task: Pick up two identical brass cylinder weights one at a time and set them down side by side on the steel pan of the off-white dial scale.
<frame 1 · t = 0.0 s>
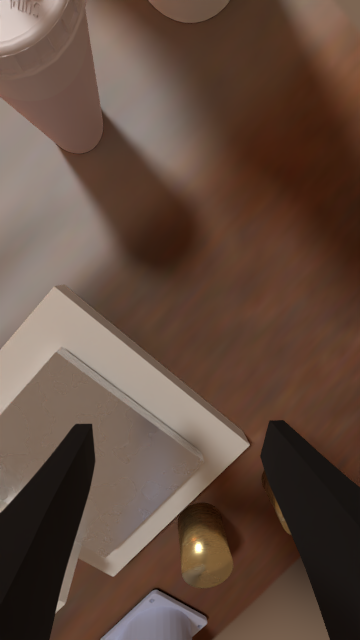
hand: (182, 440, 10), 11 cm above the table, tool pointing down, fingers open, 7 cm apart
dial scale: (93, 438, 21), on the table
smoothie: (75, 124, 16), on the table
brass weight a: (199, 520, 24), on the table
scale pan: (85, 461, 19), point 3 cm above the table, slide at -0.4 cm
brass weight b: (282, 476, 24), on the table
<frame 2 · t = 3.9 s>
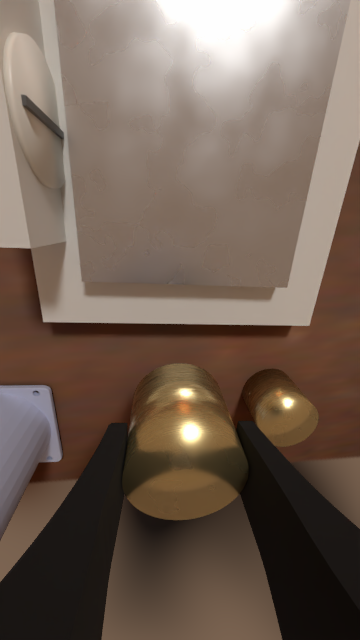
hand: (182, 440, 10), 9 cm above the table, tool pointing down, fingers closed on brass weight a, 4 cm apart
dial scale: (190, 156, 14), on the table
brass weight a: (177, 401, 12), point 7 cm above the table, touching gripper
scale pan: (197, 142, 12), point 3 cm above the table, slide at -0.4 cm
brass weight b: (266, 389, 21), on the table
when the fingers open (6 cm above the table, at t = 5.4 s): brass weight a stays where it is, resting on scale pan.
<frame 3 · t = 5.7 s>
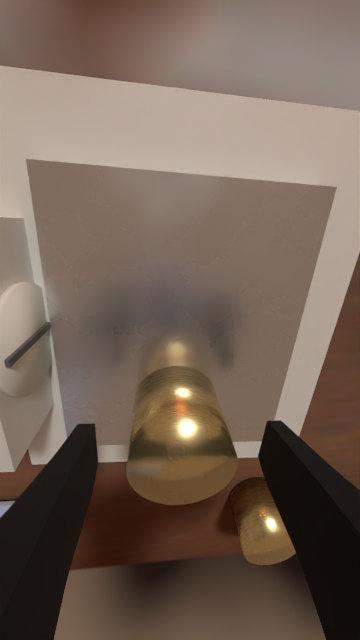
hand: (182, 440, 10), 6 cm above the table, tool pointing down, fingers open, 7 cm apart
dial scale: (175, 315, 15), on the table
brass weight a: (175, 399, 13), point 3 cm above the table, touching scale pan
scale pan: (179, 333, 12), point 3 cm above the table, slide at -0.4 cm, touching brass weight a
brass weight b: (253, 493, 22), on the table
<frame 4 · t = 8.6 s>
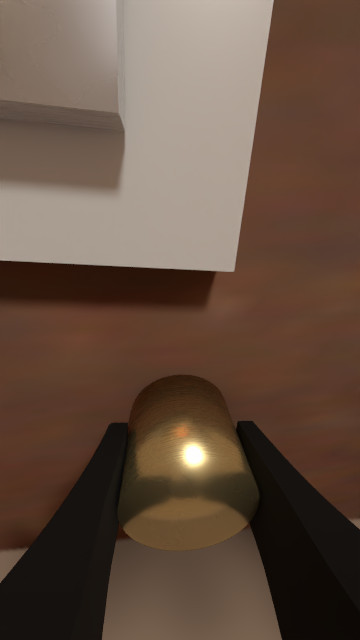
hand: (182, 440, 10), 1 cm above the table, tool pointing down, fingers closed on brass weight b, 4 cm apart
brass weight b: (179, 414, 11), on the table, touching gripper
when the fingers open (9 cm above the table, at t = 10.6 s): brass weight b drops 3 cm, resting on scale pan.
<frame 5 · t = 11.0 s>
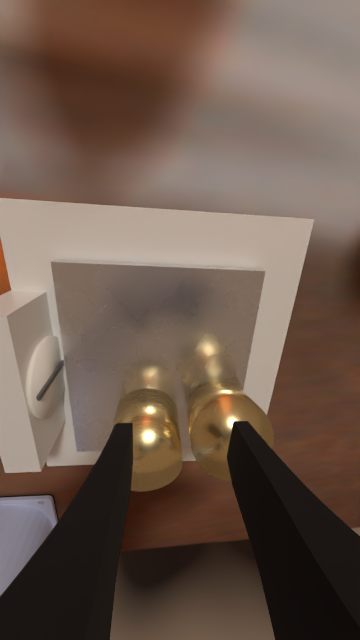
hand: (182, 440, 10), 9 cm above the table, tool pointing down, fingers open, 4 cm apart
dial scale: (159, 350, 19), on the table
brass weight a: (146, 413, 17), point 3 cm above the table, touching scale pan
scale pan: (159, 368, 17), point 3 cm above the table, slide at -0.5 cm, touching brass weight a, brass weight b
brass weight b: (218, 411, 17), point 4 cm above the table, tilted 24°, touching scale pan
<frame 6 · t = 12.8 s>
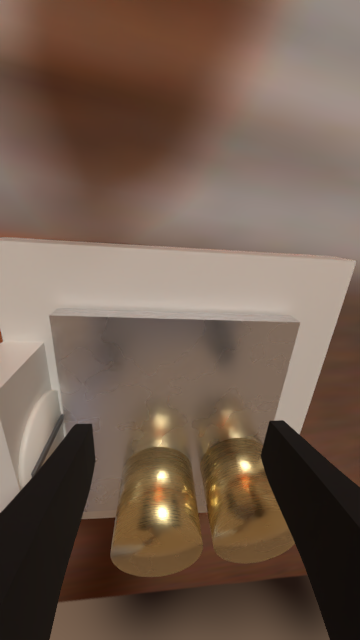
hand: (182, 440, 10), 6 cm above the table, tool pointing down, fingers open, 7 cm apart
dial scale: (170, 395, 17), on the table
brass weight a: (157, 472, 15), point 3 cm above the table, touching scale pan
scale pan: (173, 423, 15), point 3 cm above the table, slide at -0.5 cm, touching brass weight a, brass weight b
brass weight b: (233, 463, 16), point 3 cm above the table, touching scale pan
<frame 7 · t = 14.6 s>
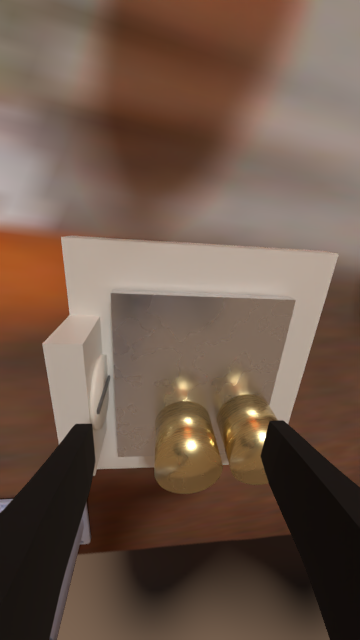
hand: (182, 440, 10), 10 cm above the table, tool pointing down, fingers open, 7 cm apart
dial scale: (191, 364, 21), on the table
brass weight a: (182, 423, 19), point 3 cm above the table, touching scale pan
scale pan: (196, 383, 18), point 3 cm above the table, slide at -0.5 cm, touching brass weight a, brass weight b
brass weight b: (243, 416, 19), point 3 cm above the table, touching scale pan
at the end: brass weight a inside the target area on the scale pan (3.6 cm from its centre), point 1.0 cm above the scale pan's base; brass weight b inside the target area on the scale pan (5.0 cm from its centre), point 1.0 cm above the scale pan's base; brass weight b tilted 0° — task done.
